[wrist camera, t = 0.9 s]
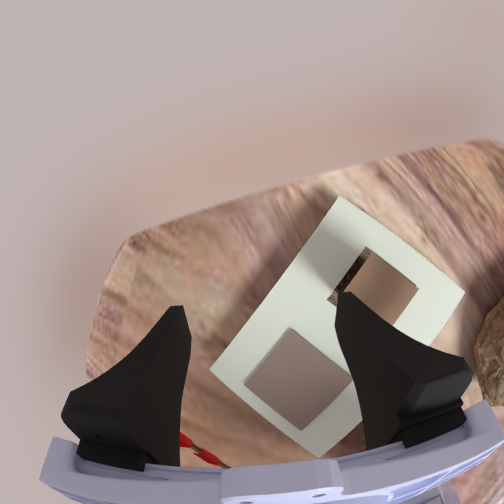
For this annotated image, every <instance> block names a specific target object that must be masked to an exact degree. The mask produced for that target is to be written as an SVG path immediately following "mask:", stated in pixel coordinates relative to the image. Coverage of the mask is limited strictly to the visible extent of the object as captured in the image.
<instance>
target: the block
mask: <svg viewBox="0 0 504 504" xmlns="http://www.w3.org/2000/svg"><path fill="white" fill-rule="evenodd" d="M418 290H419V288H418V287H416V286H415V285H414V284H413V283H411V282H410V281H409V280H408V279H406V278H405V277H404V276H403V275H401V274H400V273H399V272H397V271H396V270H395V269H394V268H392V267H391V266H390V265H388V264H387V263H386V262H385V261H383V260H382V259H381V258H379V257H378V256H377V255H375V254H374V253H373V252H372V253H371V254H370V255H369V257H368V258H367V260H366V261H365V263H364V264H363V265H362V267H361V268H360V270H359V271H358V272H357V274H356V275H355V277H354V278H353V279H352V281H351V282H350V283H349V285H348V286H347V287H346V289H345V290H344V291H343V292H349V291H351V292H352V293H353V294H354V295H355V296H357V297H358V298H359V299H360V300H361V301H362V302H363V303H365V304H366V305H367V306H368V307H369V308H370V309H372V310H373V311H374V312H375V313H376V314H378V315H379V316H380V317H381V318H383V319H384V320H385V321H387V322H388V323H389V324H391V325H392V326H393V325H394V323H395V322H396V321H397V319H398V318H399V317H400V315H401V314H402V313H403V311H404V310H405V308H406V307H407V306H408V304H409V303H410V301H411V300H412V299H413V297H414V296H415V294H416V293H417V291H418ZM337 300H338V299H337ZM335 303H336V304H337V301H336V302H335Z"/></svg>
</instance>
